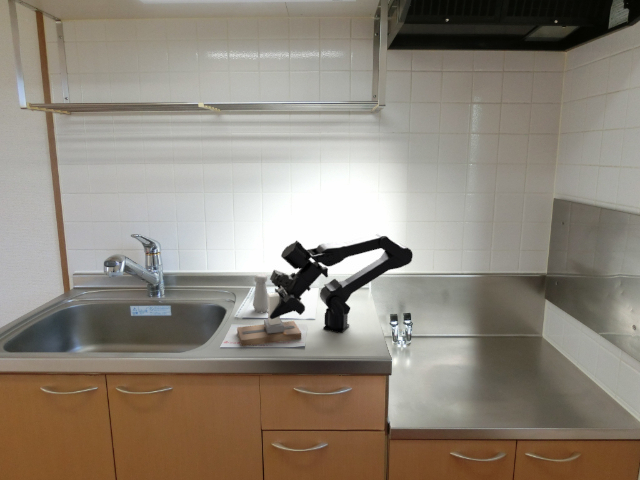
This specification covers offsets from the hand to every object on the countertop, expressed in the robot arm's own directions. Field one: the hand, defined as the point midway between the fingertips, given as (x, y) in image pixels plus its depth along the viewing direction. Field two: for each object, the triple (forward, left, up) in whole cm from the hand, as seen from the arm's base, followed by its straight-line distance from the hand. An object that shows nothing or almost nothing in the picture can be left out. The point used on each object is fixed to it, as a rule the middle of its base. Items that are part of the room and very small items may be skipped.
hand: (269, 315), depth 133 cm
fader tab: (-1, -1, -4) cm, 4 cm away
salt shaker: (+14, -15, -7) cm, 22 cm away
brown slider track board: (0, 0, -7) cm, 7 cm away
